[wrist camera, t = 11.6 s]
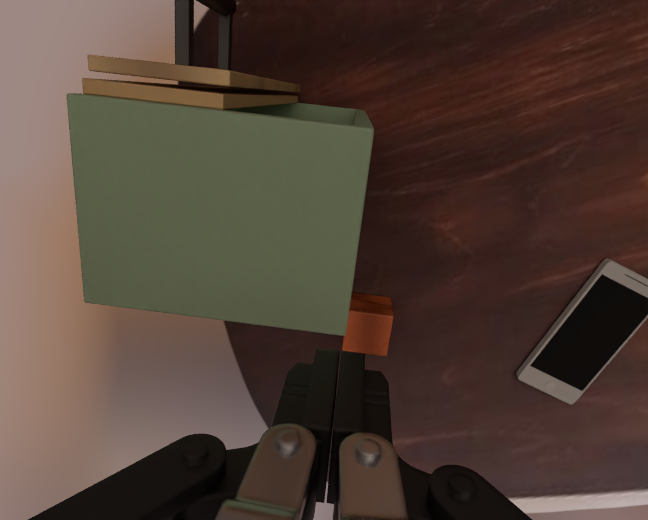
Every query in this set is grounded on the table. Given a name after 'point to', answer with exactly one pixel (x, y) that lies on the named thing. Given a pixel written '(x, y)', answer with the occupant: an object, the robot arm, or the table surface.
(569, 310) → the smartphone
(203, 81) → the door
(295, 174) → the box
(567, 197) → the table surface
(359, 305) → the block
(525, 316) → the table surface
